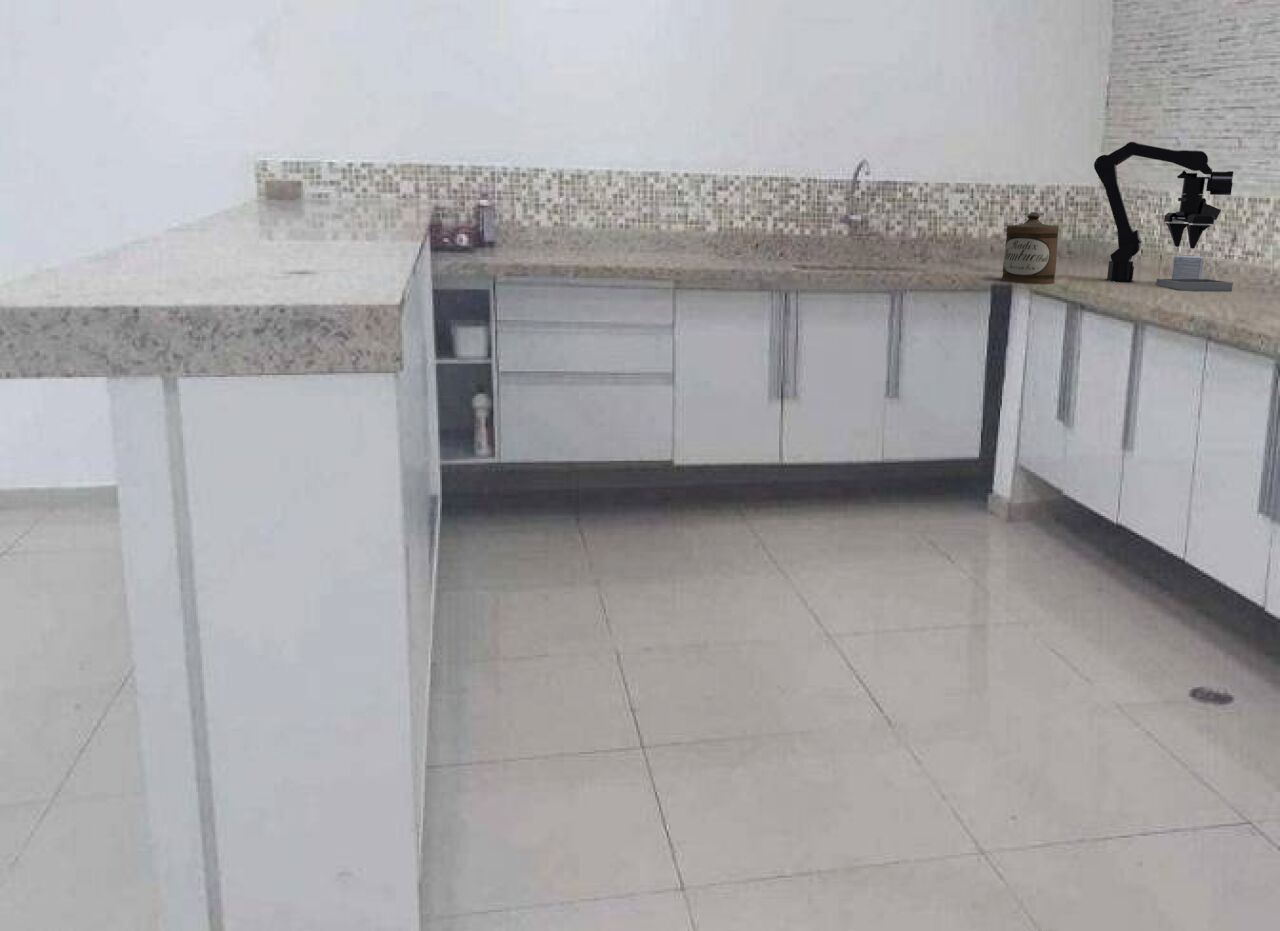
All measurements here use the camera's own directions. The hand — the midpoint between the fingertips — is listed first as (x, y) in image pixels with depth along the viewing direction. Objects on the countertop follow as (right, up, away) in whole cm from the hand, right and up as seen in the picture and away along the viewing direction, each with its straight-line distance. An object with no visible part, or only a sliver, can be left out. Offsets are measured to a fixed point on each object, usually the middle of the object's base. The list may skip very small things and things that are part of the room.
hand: (1184, 247), depth 326 cm
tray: (0, -13, -4) cm, 14 cm away
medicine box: (+7, -9, +13) cm, 17 cm away
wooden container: (-49, -13, -3) cm, 50 cm away
